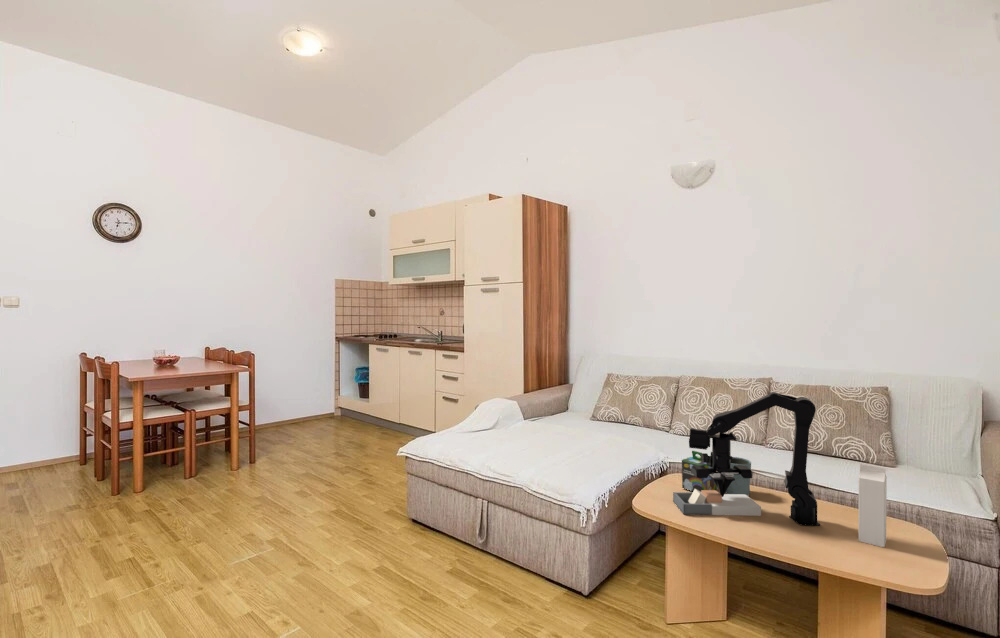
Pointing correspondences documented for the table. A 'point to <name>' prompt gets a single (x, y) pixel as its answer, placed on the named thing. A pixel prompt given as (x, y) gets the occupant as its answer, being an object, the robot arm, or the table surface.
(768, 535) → the table surface
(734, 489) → the grey-blue cup
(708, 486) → the chalk box
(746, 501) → the board
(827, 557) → the table surface
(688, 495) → the tray
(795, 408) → the robot arm
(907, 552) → the table surface
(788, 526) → the table surface
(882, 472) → the milk
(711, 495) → the tile
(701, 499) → the tile
